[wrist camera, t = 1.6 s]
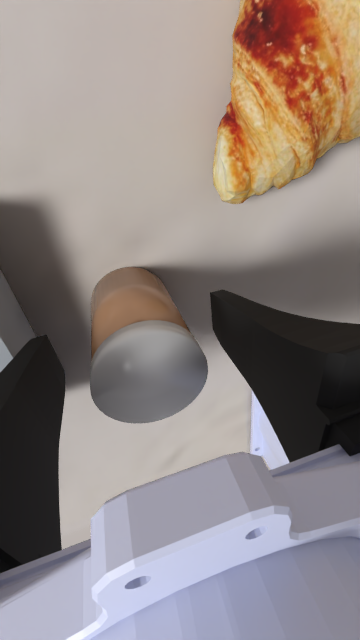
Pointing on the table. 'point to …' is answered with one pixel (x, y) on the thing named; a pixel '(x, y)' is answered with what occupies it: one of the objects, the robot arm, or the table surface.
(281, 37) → the croissant
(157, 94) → the table surface
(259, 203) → the table surface
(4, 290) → the bin
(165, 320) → the shaker
